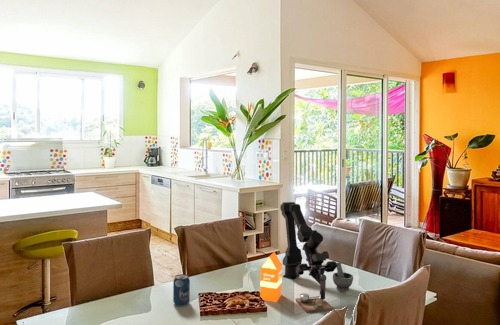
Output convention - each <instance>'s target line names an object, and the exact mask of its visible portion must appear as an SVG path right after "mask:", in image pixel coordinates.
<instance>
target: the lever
mask: <svg viewBox="0 0 500 325" xmlns="http://www.w3.org/2000/svg"><path fill="white" fill-rule="evenodd" d="M326 283H327V275H325V273H324V274H322V275H320V284H319V296H320V297H316V296H310V294H308V293H299V298H300V302H303V303H307V302H313V300H315V301H316V300H317V299H321V300H322V301H323V299H324V300H325V299H326Z"/></svg>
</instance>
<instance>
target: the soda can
mask: <svg viewBox="0 0 500 325" xmlns="http://www.w3.org/2000/svg"><path fill="white" fill-rule="evenodd" d="M190 281H191V280H190V278H189V275H187V274H184V273H183V274H177V275H175V277H174V278H173V282H172V283H173V290H172V291H173V292H172V293H173V303H174V305H175V306H177V307H185V306H188V304H189V303H190V292H191V291H190V288H191V287H190V286H191V284H190V283H191V282H190Z"/></svg>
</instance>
